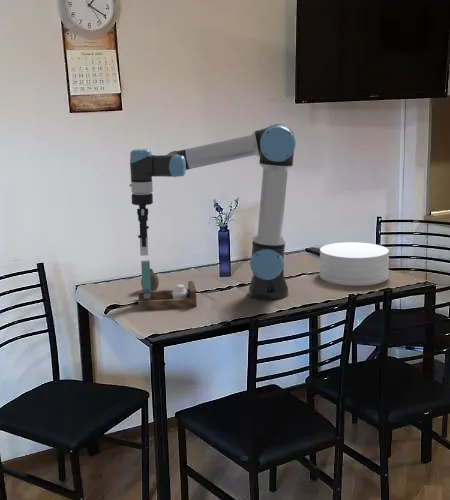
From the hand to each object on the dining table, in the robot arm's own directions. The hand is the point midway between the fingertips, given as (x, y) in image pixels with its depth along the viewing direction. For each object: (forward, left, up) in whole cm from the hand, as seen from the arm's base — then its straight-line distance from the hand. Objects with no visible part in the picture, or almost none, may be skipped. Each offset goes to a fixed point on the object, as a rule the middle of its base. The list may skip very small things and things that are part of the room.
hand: (144, 251), depth 252 cm
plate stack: (-38, -80, -21) cm, 91 cm away
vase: (+12, -12, -20) cm, 27 cm away
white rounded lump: (-8, -9, -20) cm, 24 cm away
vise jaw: (0, 0, -20) cm, 20 cm away
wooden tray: (-5, -6, -20) cm, 22 cm away
